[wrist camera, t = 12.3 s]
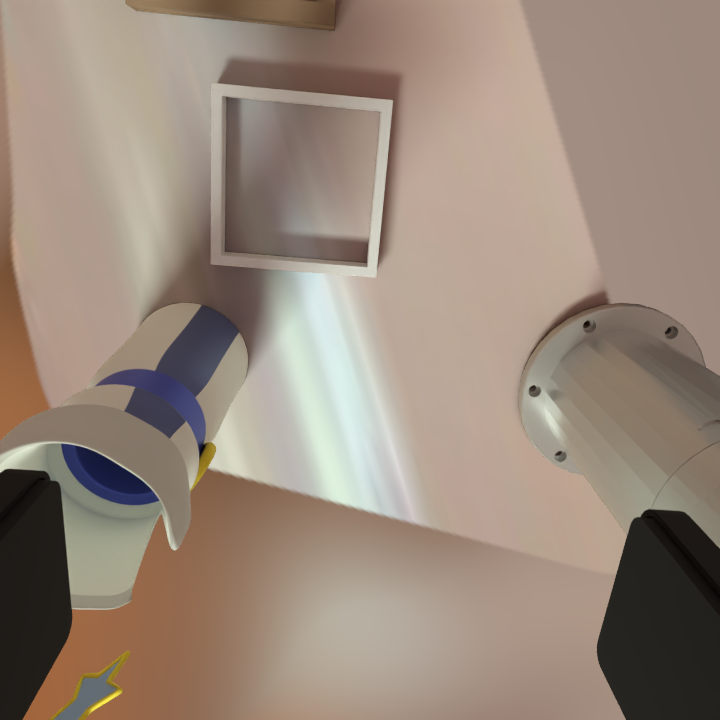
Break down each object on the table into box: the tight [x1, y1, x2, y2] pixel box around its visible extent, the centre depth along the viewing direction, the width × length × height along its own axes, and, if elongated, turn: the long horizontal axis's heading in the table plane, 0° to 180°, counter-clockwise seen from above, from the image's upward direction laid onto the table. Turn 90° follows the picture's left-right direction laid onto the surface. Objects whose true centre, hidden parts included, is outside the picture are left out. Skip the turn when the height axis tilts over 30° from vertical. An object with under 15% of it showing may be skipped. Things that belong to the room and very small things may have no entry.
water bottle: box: [0, 303, 248, 720], centre depth 29 cm, size 8×9×25 cm
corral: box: [211, 83, 393, 278], centre depth 36 cm, size 10×10×1 cm
